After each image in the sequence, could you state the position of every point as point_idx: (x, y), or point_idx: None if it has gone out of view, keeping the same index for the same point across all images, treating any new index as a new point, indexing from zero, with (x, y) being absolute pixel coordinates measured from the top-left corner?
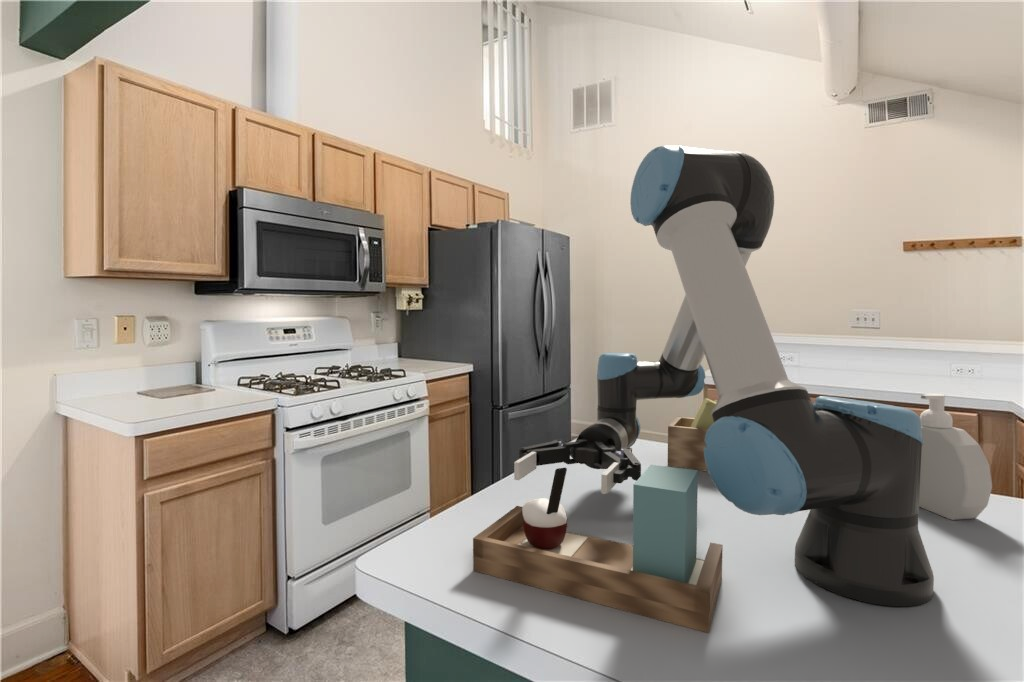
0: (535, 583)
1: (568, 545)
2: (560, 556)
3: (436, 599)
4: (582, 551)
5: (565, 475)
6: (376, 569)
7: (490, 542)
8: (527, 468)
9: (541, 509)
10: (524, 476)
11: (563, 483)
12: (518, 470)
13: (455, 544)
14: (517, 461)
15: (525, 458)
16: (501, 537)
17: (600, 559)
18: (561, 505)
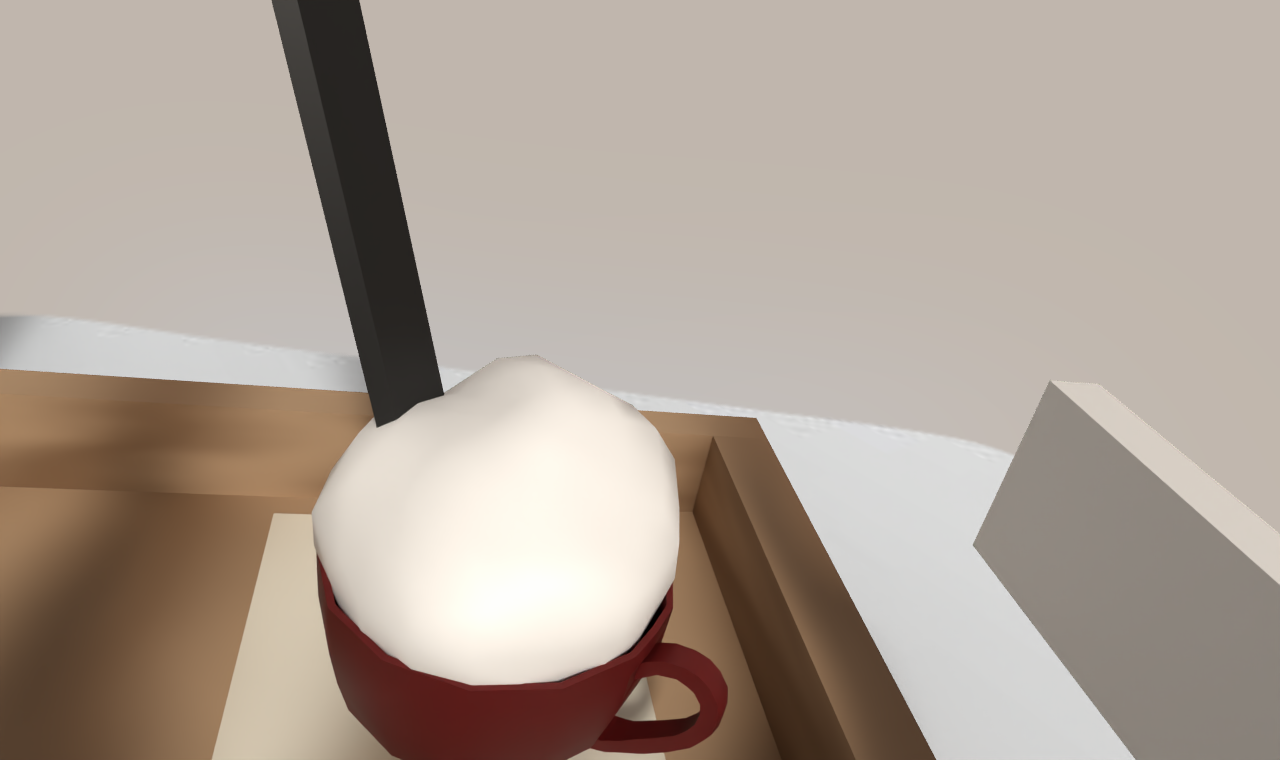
0: None
1: (308, 736)
2: (261, 396)
3: (671, 403)
4: (181, 738)
5: (287, 63)
6: (978, 456)
7: (659, 412)
8: (1151, 668)
9: (482, 371)
10: (1057, 654)
11: (308, 144)
12: (1016, 456)
13: (1011, 695)
14: (1106, 405)
15: (1194, 506)
16: (742, 600)
17: (17, 692)
18: (414, 573)
